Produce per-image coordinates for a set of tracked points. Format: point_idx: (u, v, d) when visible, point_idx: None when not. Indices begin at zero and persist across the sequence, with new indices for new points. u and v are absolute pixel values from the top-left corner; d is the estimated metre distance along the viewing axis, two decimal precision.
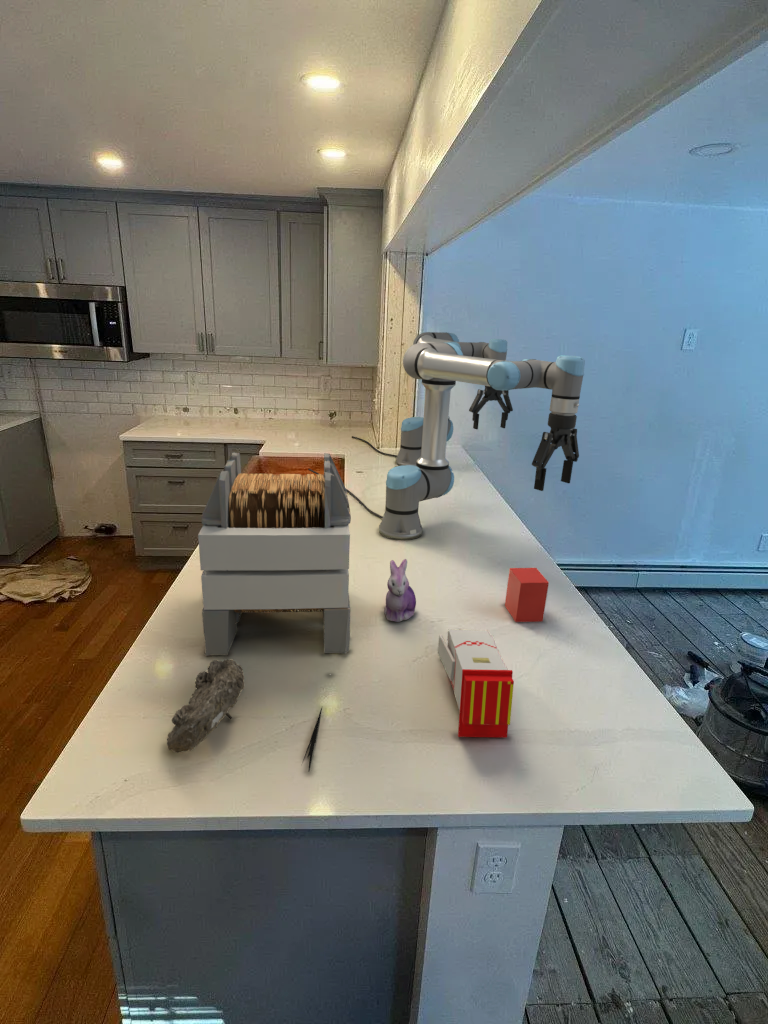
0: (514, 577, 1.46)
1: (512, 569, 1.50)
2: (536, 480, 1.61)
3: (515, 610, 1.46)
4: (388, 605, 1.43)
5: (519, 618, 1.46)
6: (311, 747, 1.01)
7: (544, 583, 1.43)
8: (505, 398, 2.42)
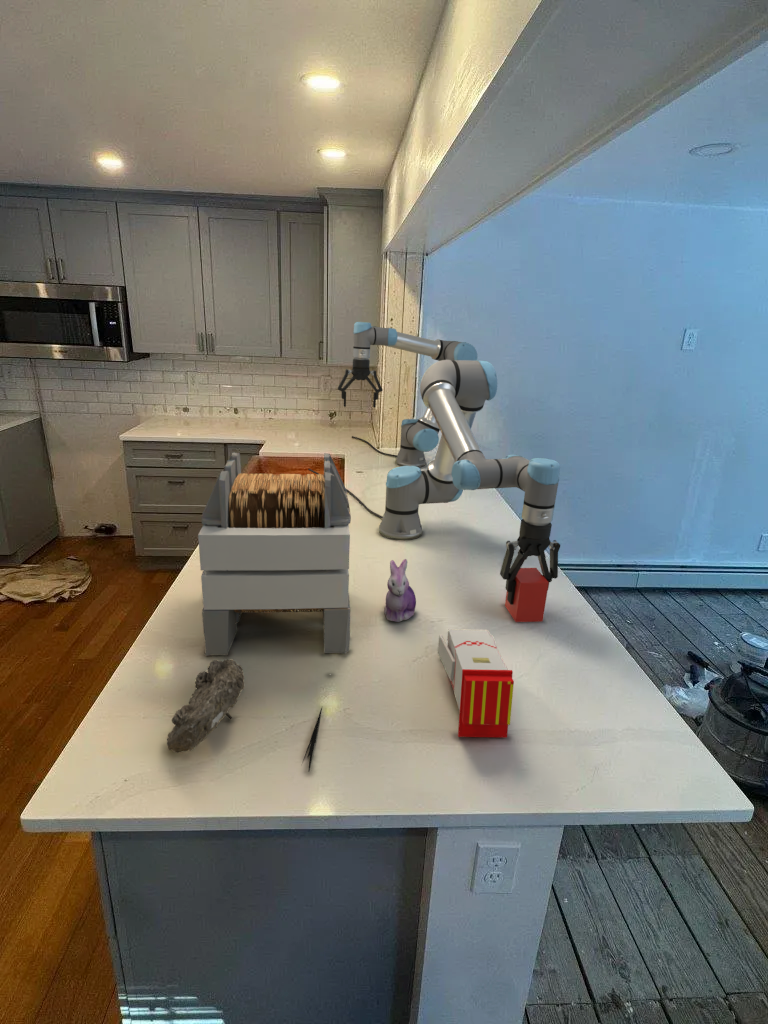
0: None
1: None
2: None
3: (515, 610, 1.46)
4: (388, 605, 1.43)
5: (519, 618, 1.46)
6: (311, 747, 1.01)
7: (544, 583, 1.43)
8: (374, 378, 2.55)
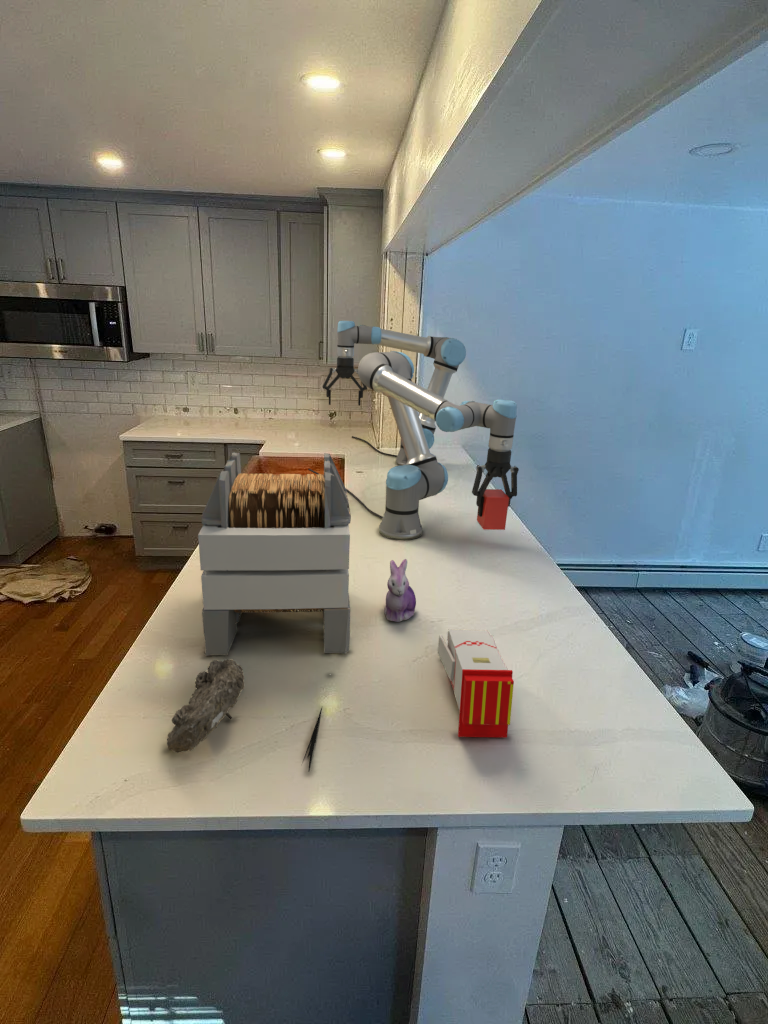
0: (483, 495, 1.88)
1: None
2: None
3: (483, 520, 1.87)
4: (388, 605, 1.43)
5: (486, 526, 1.87)
6: (311, 747, 1.01)
7: (505, 498, 1.84)
8: None
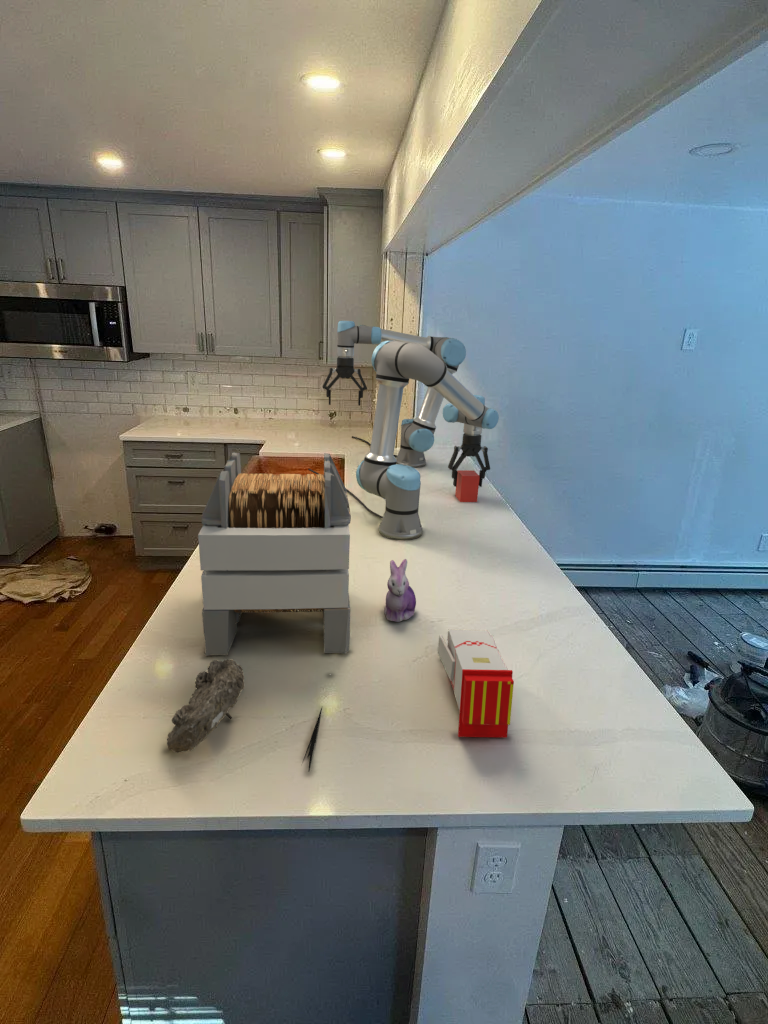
0: (459, 474, 2.36)
1: (458, 470, 2.40)
2: None
3: (459, 494, 2.36)
4: (388, 605, 1.43)
5: (462, 499, 2.36)
6: (311, 747, 1.01)
7: (476, 476, 2.33)
8: (359, 377, 2.57)
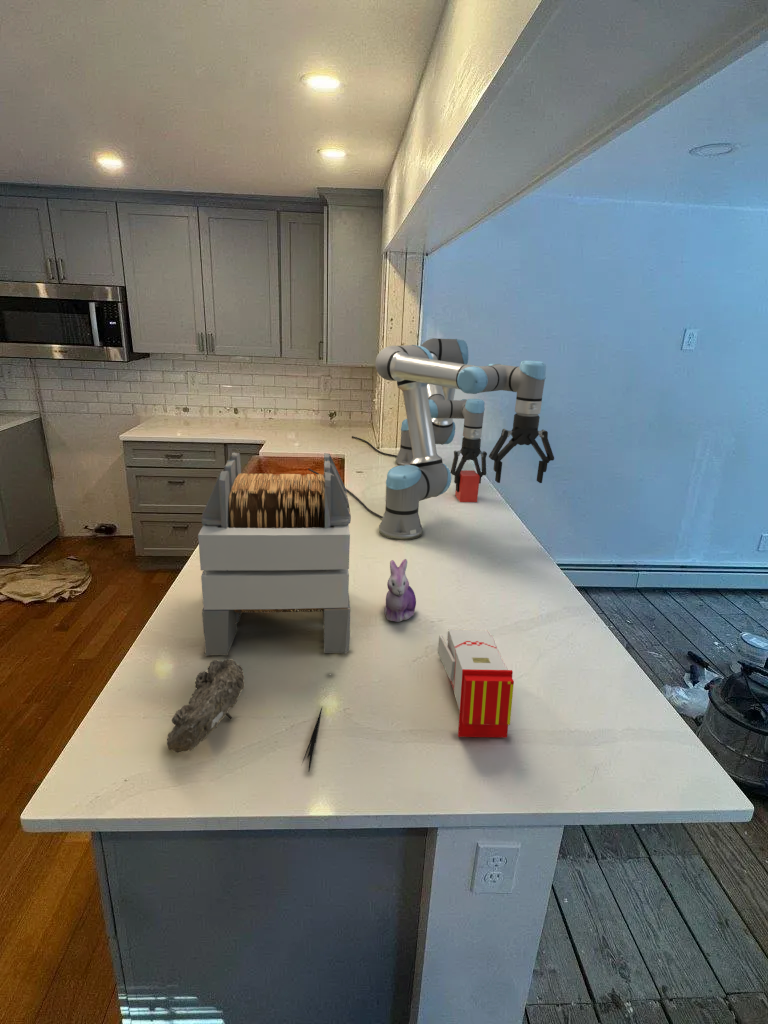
0: (459, 474, 2.36)
1: None
2: (496, 472, 1.77)
3: (460, 494, 2.36)
4: (388, 605, 1.43)
5: (462, 499, 2.36)
6: (311, 747, 1.01)
7: (476, 476, 2.33)
8: (482, 460, 2.36)
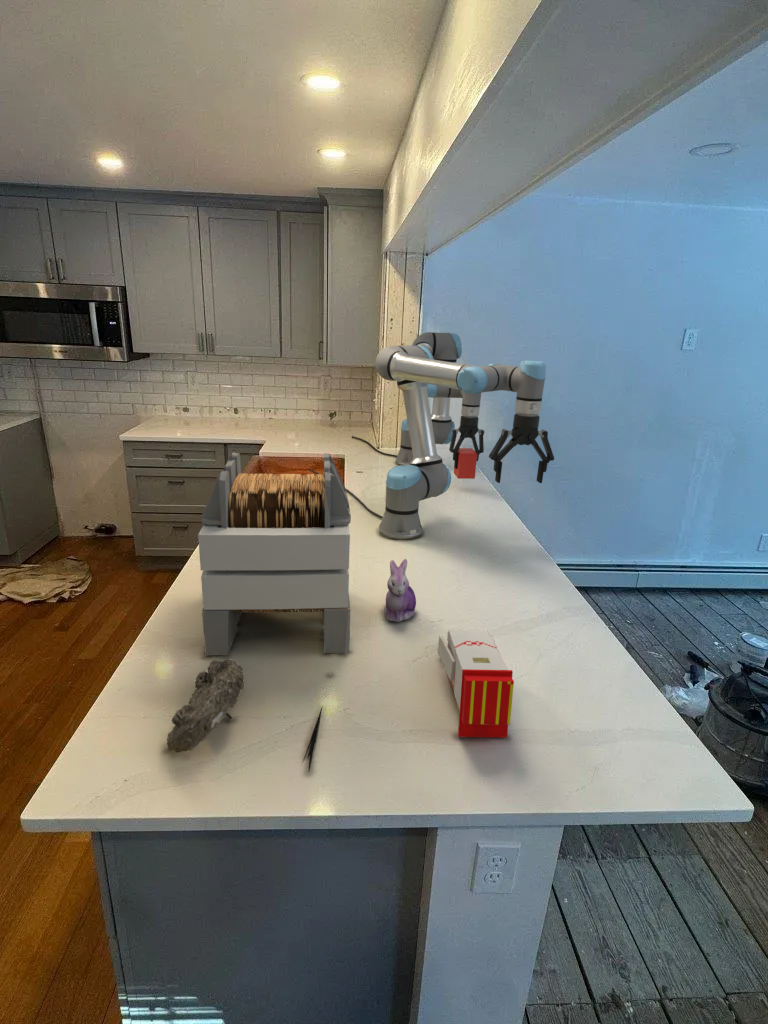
0: (458, 452, 2.45)
1: None
2: (496, 472, 1.77)
3: (458, 471, 2.44)
4: (388, 605, 1.43)
5: (460, 476, 2.44)
6: (311, 747, 1.01)
7: (474, 454, 2.41)
8: (479, 438, 2.44)
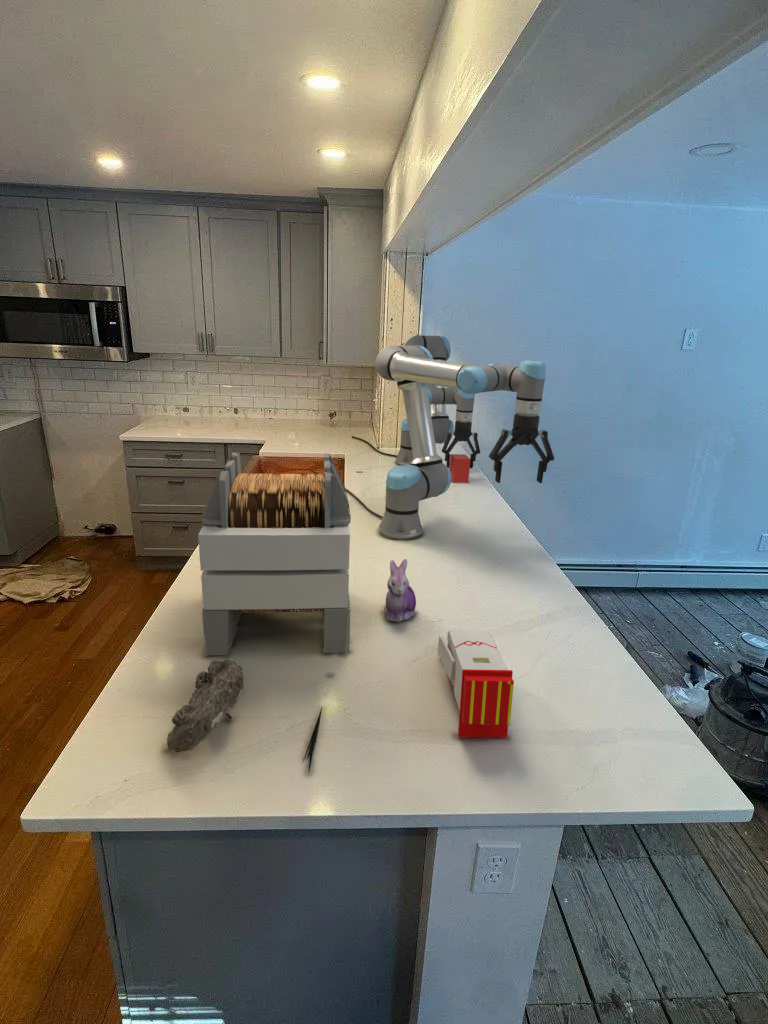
0: (452, 457, 2.63)
1: (451, 454, 2.66)
2: (496, 472, 1.77)
3: (452, 475, 2.62)
4: (388, 605, 1.43)
5: (454, 480, 2.62)
6: (311, 747, 1.01)
7: (467, 459, 2.60)
8: (474, 440, 2.61)
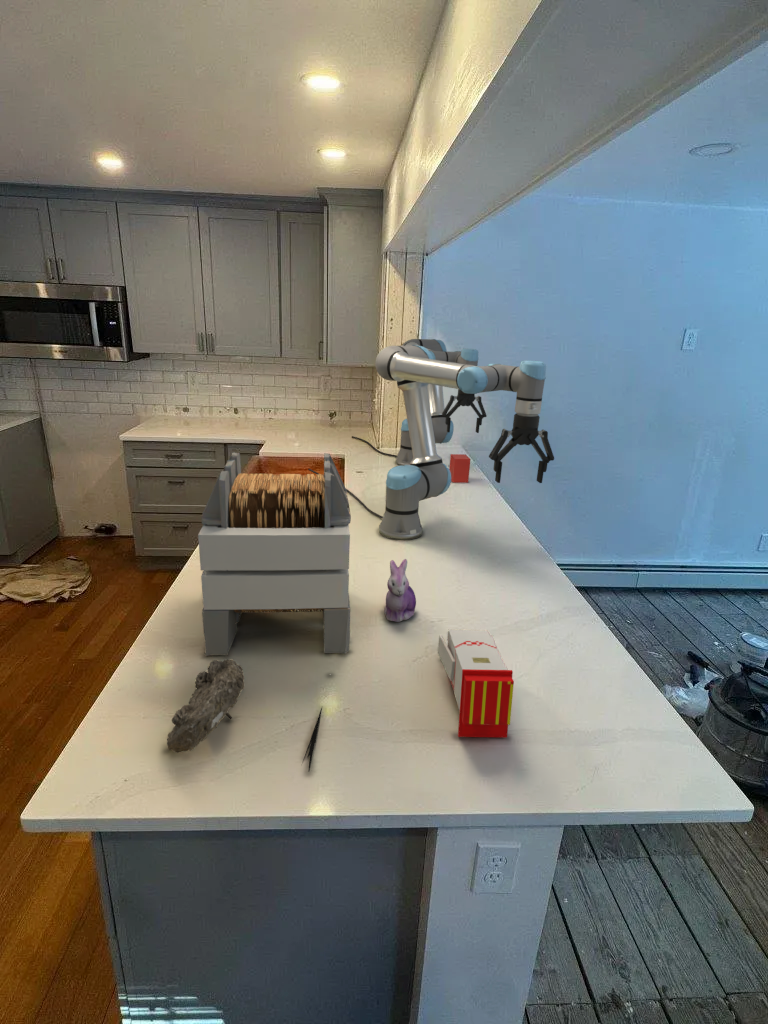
0: (452, 457, 2.63)
1: (451, 454, 2.66)
2: (496, 472, 1.77)
3: (452, 475, 2.62)
4: (388, 605, 1.43)
5: (454, 480, 2.62)
6: (311, 747, 1.01)
7: (467, 459, 2.60)
8: (479, 404, 2.56)
